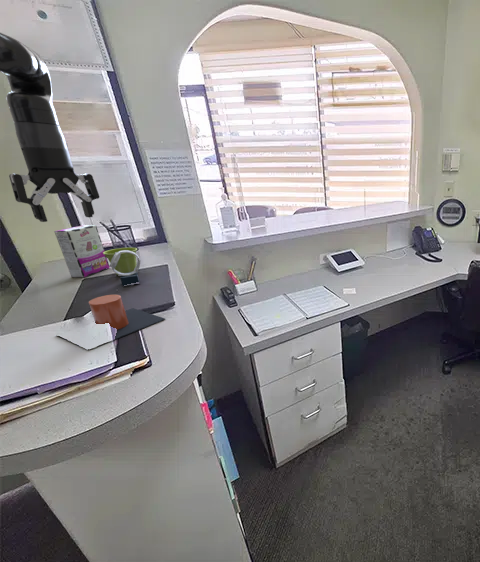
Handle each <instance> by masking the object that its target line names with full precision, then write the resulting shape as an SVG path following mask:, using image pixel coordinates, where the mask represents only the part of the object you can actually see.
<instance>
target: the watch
mask: <svg viewBox="0 0 480 562" xmlns="http://www.w3.org/2000/svg"><path fill="white" fill-rule="evenodd" d="M126 252H127V253H131V254H133V255H135V256H136V262H137V265H136V267H135V269H134V271H133V272H128V273H121V272H118V271H117V270H115V269H114V268H115V267H116V265H117V263H118V261H119V258H120V254H121V253H126ZM109 266H110V268H111V271H112V272H114V273H116V274H118V275H121V276H119V277H120V282H121V285H122V287H123V286H124V285H127V284H131V283H136V282H140V278H139V274H138V271H139V269H140V266H141V259H140V256H139V255H138V254H137V252H136V253H134V252H132V251H129V250H127V251H126V250H122V251H119V252H118V253H117V252H115V254H114V256H113V258H112V260H111V263H110V262H109ZM116 274H115V275H116Z"/></svg>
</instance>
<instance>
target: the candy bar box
mask: <svg viewBox="0 0 480 562" xmlns="http://www.w3.org/2000/svg"><path fill="white" fill-rule="evenodd" d="M53 232H54V234H55V238H56V240H57V242H58V246H59V248H60V251H61V253H62V255H63V258H64V262H65V264H66V266H67V269H68V272H69V274H70V277H71V278H87V277H89V276H92V275H95V274H97V273H100V272H102V270H103V271H105V270H107V269H106V268H108V269H110V268H111V267H110V262H109V260H108V258H107V257H106V256H105V255H104V254H103V252H105V251H106V250H105V248H104V246H103V243H102V239H101V236H100V233H99V229H98V227H97V225H96V224H83V225H79V226H78V225H77V226H73V227H69V228H63V229H59V230H54V231H53ZM109 267H110V268H109ZM104 269H105V270H104Z"/></svg>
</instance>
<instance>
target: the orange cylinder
mask: <svg viewBox="0 0 480 562" xmlns="http://www.w3.org/2000/svg"><path fill="white" fill-rule="evenodd" d="M88 305H89V308H90V309H89V310H90V311H91V314H92V318H93V320H94V321H95V323H96V324H105V323H109V324H110V326H111V327H113V328H116V329H117V330H118V329H121V328H123V327H125V326H127V325H128V323H129V322H128V318H127V315H126V312H125V311H126V308H125V305H124V302H123V299H122V295H120V294H107V295H102V296H97V297H94V298H92V299H90V300H89V301H88Z"/></svg>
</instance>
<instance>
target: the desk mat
mask: <svg viewBox="0 0 480 562" xmlns="http://www.w3.org/2000/svg"><path fill="white" fill-rule="evenodd" d="M125 312H126V315H127V318H128V322H129V323H128V325H127V326H125V327H123V328H121V329H118V330H117V333H116V336H115V340H114V341H116V340H119V339H121V338H124V337H126V336H128V335H131V334H134V333H136V332H139V331H141V330H144V329H146V328H148V327H151V326H154V325H156V324H158V323H160V322H163V321H165V320H166V318H165V317H161V316H159V315H155V314H153V313H150V312H146V311H143V310H141V309H137V308H134V307H132V308H129V309H127V310H126V309H125Z"/></svg>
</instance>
